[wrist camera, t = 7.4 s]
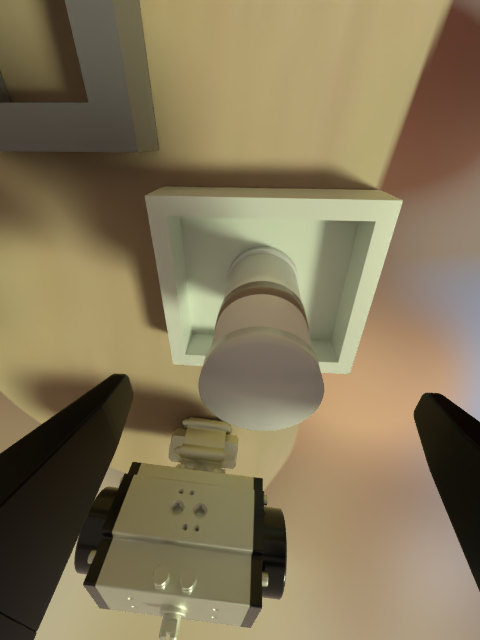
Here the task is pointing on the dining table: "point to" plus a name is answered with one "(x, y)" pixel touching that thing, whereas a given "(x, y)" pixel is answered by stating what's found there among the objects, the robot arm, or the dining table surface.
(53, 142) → the grey square frame
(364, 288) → the parts tray
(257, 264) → the white light bulb
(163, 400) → the dining table surface
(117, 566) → the pneumatic valve
